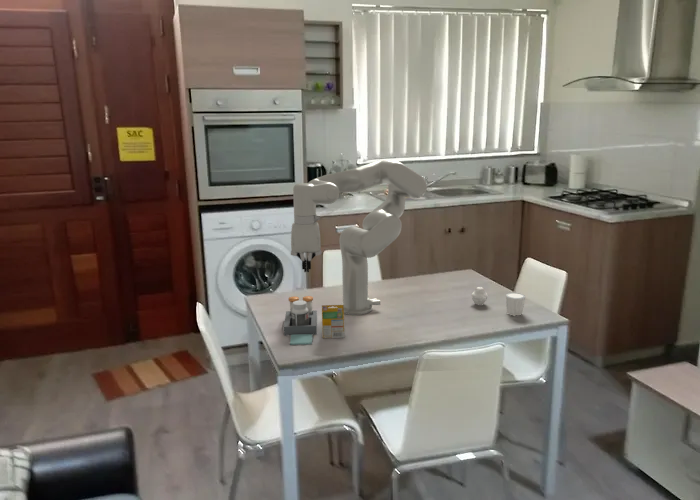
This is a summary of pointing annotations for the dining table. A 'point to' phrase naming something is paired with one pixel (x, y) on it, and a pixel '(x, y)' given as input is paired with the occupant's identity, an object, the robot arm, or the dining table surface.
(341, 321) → the crayon box
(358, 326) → the dining table surface
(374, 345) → the dining table surface
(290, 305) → the plunger
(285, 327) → the housing
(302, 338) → the pad
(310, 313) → the plunger
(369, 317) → the dining table surface
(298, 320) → the pill bottle
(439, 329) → the dining table surface
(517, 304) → the shot glass
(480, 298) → the white rounded lump
